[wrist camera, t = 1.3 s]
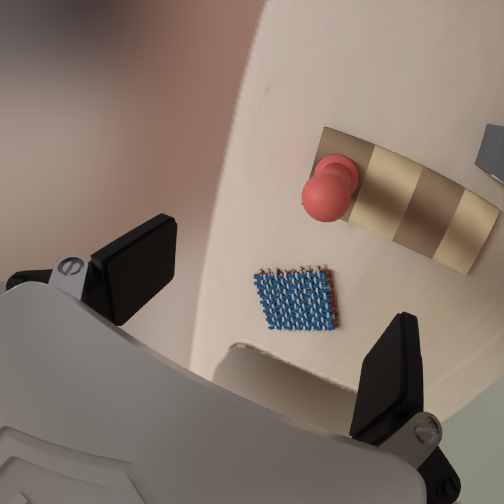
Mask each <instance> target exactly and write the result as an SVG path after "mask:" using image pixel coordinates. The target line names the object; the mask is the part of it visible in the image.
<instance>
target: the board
mask: <svg viewBox="0 0 504 504" xmlns="http://www.w3.org/2000/svg"><path fill="white" fill-rule="evenodd" d="M332 154H340V155H344V156H346V157H348V158H349V159H351V160H352V161H353V162H354V164H355V165H356V167H357V169H358V173H359V180H358V185H357V188H356V190H355V191H354V193H353V194H352V195H350V196H351V201H350V205H349V208H348V210H347V212H346V213H345V214H344V215H343V216H342V217H341V218H339V219H341V220H343V221H346V222H348V223H351V224H353V225H356V226H358V227H361V228H363V229H366V230H368V231H370V232H373V233H375V234H377V235H380V236H382V237H384V238H387V239H389V240H391V241H394V242H396V243H398V244H400V245H403V246H405V247H407V248H409V249H411V250H414V251H416V252H418V253H420V254H422V255H424V256H427V257H429V258H431V259H433V260H435V261H437V262H439V263H441V264H443V265H445V266H447V267H450V268H452V269H454V270H456V271H458V272H460V273H462V274H464V275H465V276H466V275H467V273H468V271H469V270H470V268H471V266H472V265H473V263H474V261H475V259H476V258H477V256H478V254H479V252H480V250H481V249H482V247H483V245H484V243H485V241H486V239H487V237H488V235H489V233H490V231H491V229H492V227H493V225H494V223H495V221H496V219H497V217H498V214H499V212H500V210H499V209H498V208H497V207H495V206H494V205H492V204H491V203H489V202H488V201H486V200H484V199H483V198H481V197H480V196H478V195H476V194H475V193H473V192H471V191H470V190H468V189H466V188H464V187H463V186H461V185H459V184H457V183H455V182H454V181H452V180H450V179H448V178H446V177H444V176H442V175H441V174H439V173H437V172H435V171H433V170H431V169H429V168H427V167H425V166H423V165H421V164H418V163H416V162H414V161H412V160H410V159H408V158H406V157H403V156H401V155H399V154H397V153H394V152H392V151H390V150H387V149H385V148H382V147H380V146H377V145H375V144H372V143H370V142H367V141H365V140H362V139H359V138H357V137H354V136H351V135H348V134H346V133H343V132H340V131H337V130H334V129H331V128H328V127H324V129H323V132H322V136H321V139H320V143H319V147H318V150H317V154H316V157H315V160H314V164H313V167H312V171H311V174H310V178H312V177H313V176H314V171H315V168H316V166H317V164H318V163H319V162H320V161H321V160H322V159H323V158H325V157H326V156H329V155H332ZM310 178H309V179H310ZM302 205H303V203H302Z"/></svg>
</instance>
